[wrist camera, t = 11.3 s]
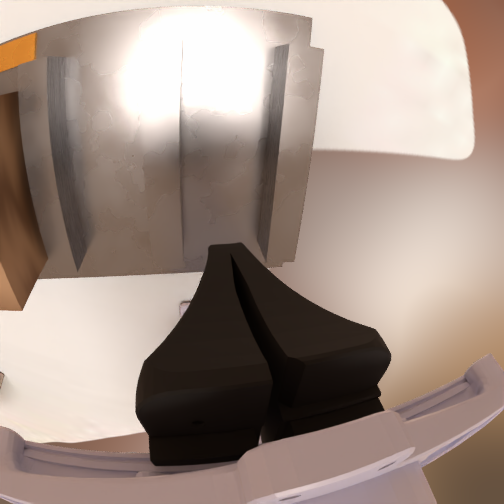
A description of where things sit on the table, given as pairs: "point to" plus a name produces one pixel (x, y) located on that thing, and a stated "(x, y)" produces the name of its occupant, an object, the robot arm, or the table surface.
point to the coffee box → (1, 378)
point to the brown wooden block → (16, 214)
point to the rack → (165, 135)
